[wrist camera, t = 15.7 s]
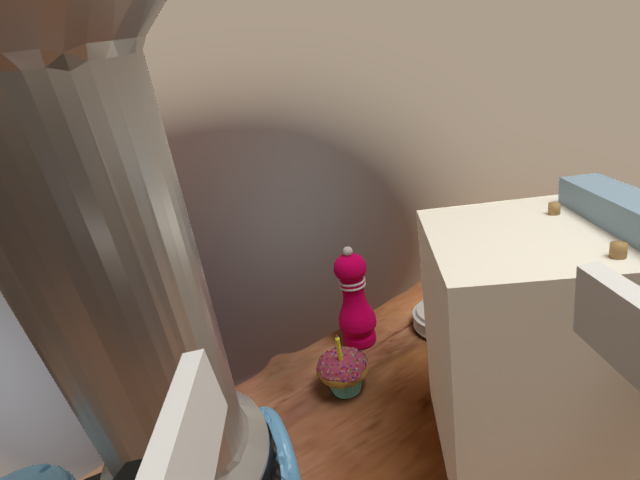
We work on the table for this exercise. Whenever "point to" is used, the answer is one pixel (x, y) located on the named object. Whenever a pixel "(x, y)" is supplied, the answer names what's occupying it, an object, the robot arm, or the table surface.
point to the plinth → (522, 345)
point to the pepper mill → (354, 301)
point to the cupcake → (343, 370)
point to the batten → (604, 204)
